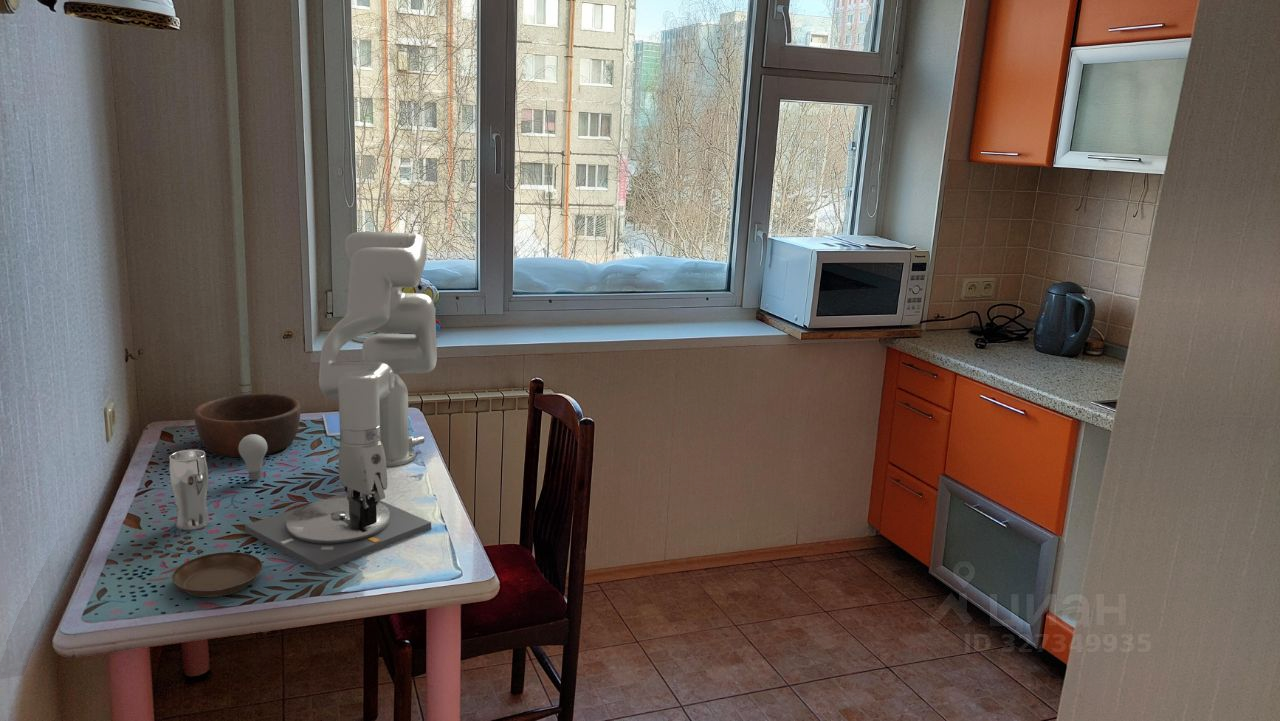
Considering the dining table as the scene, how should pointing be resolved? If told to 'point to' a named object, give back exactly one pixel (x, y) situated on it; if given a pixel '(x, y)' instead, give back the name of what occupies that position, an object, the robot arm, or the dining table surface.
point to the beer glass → (190, 488)
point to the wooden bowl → (247, 422)
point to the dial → (334, 521)
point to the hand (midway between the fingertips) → (363, 521)
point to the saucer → (217, 573)
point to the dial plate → (338, 553)
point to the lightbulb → (253, 454)
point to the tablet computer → (332, 424)
